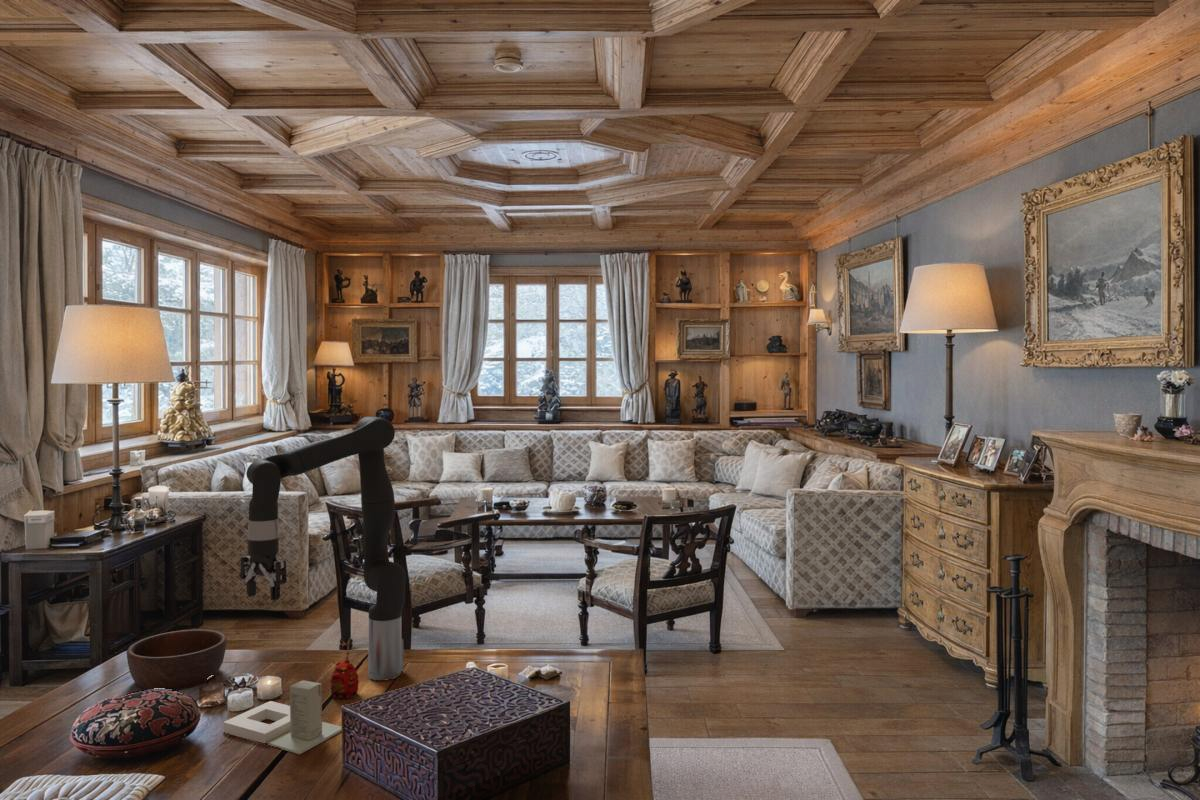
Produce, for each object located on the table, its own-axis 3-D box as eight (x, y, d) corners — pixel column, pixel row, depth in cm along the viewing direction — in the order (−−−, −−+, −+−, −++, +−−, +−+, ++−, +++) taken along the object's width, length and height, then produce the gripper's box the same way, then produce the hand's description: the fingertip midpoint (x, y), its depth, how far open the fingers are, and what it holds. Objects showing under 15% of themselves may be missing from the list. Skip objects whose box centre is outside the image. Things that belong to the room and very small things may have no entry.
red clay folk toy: (324, 698, 206) (325, 643, 206) (340, 688, 213) (340, 635, 213) (349, 702, 204) (349, 646, 204) (364, 692, 211) (364, 637, 211)
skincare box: (323, 733, 184) (323, 683, 184) (309, 741, 180) (309, 689, 180) (302, 728, 187) (302, 678, 187) (288, 736, 183) (289, 685, 183)
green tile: (313, 721, 192) (313, 719, 192) (344, 729, 188) (344, 727, 188) (268, 745, 179) (268, 742, 179) (299, 754, 175) (299, 751, 175)
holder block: (270, 710, 199) (270, 700, 198) (310, 721, 193) (310, 711, 193) (223, 732, 186) (223, 722, 186) (264, 744, 180) (264, 733, 180)
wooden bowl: (157, 703, 202) (157, 664, 202) (108, 683, 215) (108, 646, 215) (244, 673, 224) (244, 638, 223) (195, 657, 237) (195, 623, 237)
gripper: (294, 536, 202) (294, 597, 202) (255, 531, 208) (255, 591, 208) (271, 541, 195) (271, 605, 196) (232, 536, 201) (231, 597, 202)
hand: (263, 597), depth 202 cm, fingers open, 8 cm apart
